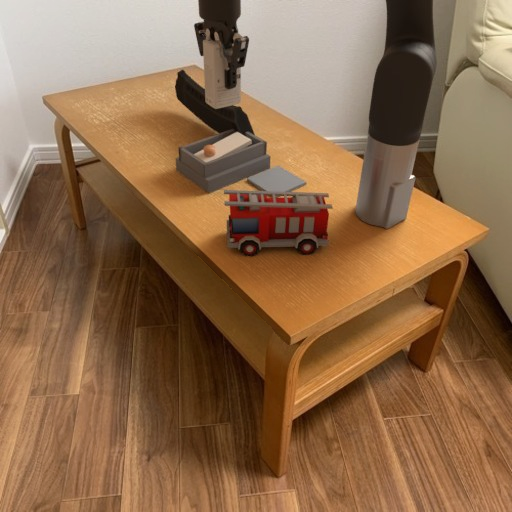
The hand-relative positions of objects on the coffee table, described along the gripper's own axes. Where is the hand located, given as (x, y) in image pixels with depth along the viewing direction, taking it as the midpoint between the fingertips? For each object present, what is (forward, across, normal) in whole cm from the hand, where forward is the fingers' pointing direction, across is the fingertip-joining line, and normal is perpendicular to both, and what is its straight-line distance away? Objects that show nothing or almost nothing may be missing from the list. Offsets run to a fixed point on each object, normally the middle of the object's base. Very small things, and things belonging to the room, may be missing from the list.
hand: (222, 83), depth 107 cm
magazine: (+19, +18, -12) cm, 29 cm away
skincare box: (+4, 0, 0) cm, 4 cm away
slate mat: (+21, -9, -7) cm, 24 cm away
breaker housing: (+21, +3, -2) cm, 21 cm away
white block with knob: (+16, +3, -2) cm, 16 cm away
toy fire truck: (+21, -24, +7) cm, 33 cm away
